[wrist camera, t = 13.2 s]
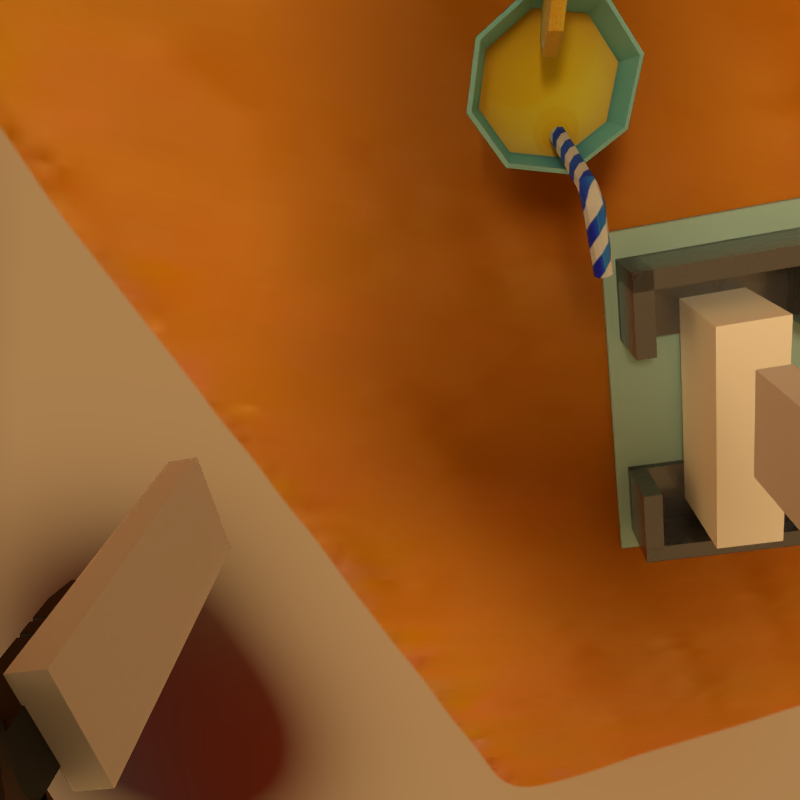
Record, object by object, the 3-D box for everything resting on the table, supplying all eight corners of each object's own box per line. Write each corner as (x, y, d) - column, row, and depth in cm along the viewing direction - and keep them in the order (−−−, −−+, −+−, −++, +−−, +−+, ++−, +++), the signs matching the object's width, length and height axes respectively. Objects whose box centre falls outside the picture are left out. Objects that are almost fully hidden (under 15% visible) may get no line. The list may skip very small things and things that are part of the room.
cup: (615, 206, 40) (706, 254, 26) (492, 242, 41) (517, 306, 27) (570, -53, 35) (654, -161, 21) (431, -1, 36) (425, -71, 22)
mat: (598, 233, 41) (600, 234, 40) (819, 193, 39) (822, 194, 38) (620, 545, 50) (622, 548, 49) (799, 524, 48) (802, 527, 48)
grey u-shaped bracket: (615, 259, 41) (632, 273, 37) (807, 225, 39) (844, 237, 36) (620, 339, 43) (636, 360, 39) (802, 310, 41) (837, 329, 38)
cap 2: (791, 509, 47) (821, 542, 44) (631, 528, 49) (647, 562, 45) (795, 444, 45) (826, 473, 41) (627, 467, 47) (643, 496, 43)
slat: (679, 298, 41) (715, 326, 35) (745, 287, 40) (792, 314, 35) (684, 497, 47) (717, 548, 41) (742, 490, 46) (783, 540, 41)
